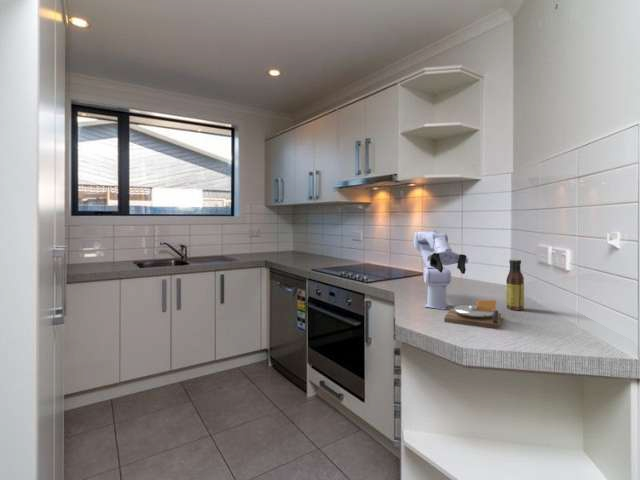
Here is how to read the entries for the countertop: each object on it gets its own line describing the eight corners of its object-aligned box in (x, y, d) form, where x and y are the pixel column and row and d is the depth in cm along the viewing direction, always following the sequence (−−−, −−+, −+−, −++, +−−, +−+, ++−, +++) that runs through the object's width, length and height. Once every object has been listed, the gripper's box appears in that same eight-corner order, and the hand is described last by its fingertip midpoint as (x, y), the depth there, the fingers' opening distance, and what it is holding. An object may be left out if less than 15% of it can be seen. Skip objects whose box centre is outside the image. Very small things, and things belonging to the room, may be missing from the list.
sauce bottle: (517, 307, 144) (519, 258, 143) (527, 310, 138) (529, 260, 137) (502, 307, 144) (503, 258, 143) (511, 310, 137) (512, 260, 136)
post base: (451, 311, 136) (451, 297, 136) (500, 317, 128) (501, 302, 128) (444, 321, 122) (444, 306, 122) (499, 329, 114) (499, 312, 114)
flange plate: (456, 306, 134) (456, 295, 134) (495, 310, 127) (496, 299, 127) (451, 314, 122) (451, 302, 122) (494, 319, 116) (494, 306, 116)
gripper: (426, 241, 132) (433, 259, 120) (465, 243, 131) (476, 262, 119) (423, 257, 136) (430, 276, 123) (461, 259, 135) (472, 279, 123)
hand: (452, 270), depth 122 cm, fingers open, 7 cm apart
